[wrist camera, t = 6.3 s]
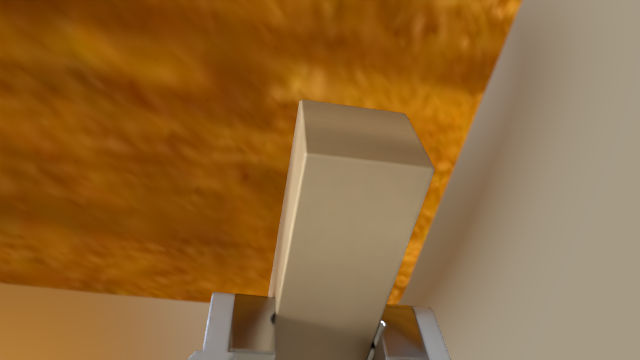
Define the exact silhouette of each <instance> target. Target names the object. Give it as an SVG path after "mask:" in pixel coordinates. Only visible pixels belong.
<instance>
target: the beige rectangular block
mask: <svg viewBox="0 0 640 360" xmlns="http://www.w3.org/2000/svg"><path fill="white" fill-rule="evenodd" d="M433 173H434V167H433V165H432V163H431V161H430V159H429V157H428V155H427V153H426V152H425V150H424V148H423V146H422V144H421V142H420V140H419V138H418V136H417V134H416V133H415V131H414V129H413V127H412V125H411V123H410V121H409V119H408V117H407V116H406V114H404V113H397V112H390V111H383V110H375V109H368V108H361V107H353V106H346V105H338V104H331V103H324V102H316V101H309V100H301V101H300V102H299V108H298V114H297V121H296V127H295V133H294V139H293V145H292V152H291V158H290V164H289V170H288V176H287V182H286V189H285V195H284V201H283V207H282V213H281V220H280V226H279V232H278V238H277V244H276V250H275V257H274V263H273V269H272V275H271V281H270V288H269V294H268V297H275V299H276V312H275V318H274V325H275V326H276V355H275V360H366V359H367V357H368V354H369V351H370V348H371V345H372V343H373V340H374V337H375V334H376V332H377V329H378V326H379V323H380V320H381V318H382V315H383V312H384V309H385V307H386V304H387V301H388V298H389V295H390V293H391V290H392V287H393V284H394V282H395V279H396V276H397V273H398V270H399V268H400V265H401V262H402V259H403V256H404V254H405V251H406V248H407V245H408V243H409V240H410V237H411V234H412V231H413V229H414V226H415V223H416V220H417V218H418V215H419V212H420V209H421V206H422V204H423V201H424V198H425V195H426V193H427V190H428V187H429V184H430V181H431V179H432V176H433Z"/></svg>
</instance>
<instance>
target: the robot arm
mask: <svg viewBox="0 0 640 360" xmlns="http://www.w3.org/2000/svg"><path fill="white" fill-rule="evenodd" d="M234 297H235V300H234ZM233 308H234V309H233ZM275 312H276V299H275V297H267V296H256V295H245V294H231V293H220V292H213V295H212V298H211V304H210V310H209V315H208V321H207V327H206V333H205V339H204V345H203V350H202V351H195V352H194V353H193V354H192V355H191V356H190V357H189V358H188V359H187V360H275V355H276V326H275V325H274V318H275ZM366 360H451V359H450V356H449V353H448V350H447V347H446V345H445V342H444V339H443V336H442V333H441V331H440V328H439V325H438V322H437V319H436V317H435V314H434V311H433V310H432V308H430V307H421V306H407V305H390V304H386V307H385V309H384V312H383V315H382V318H381V320H380V323H379V326H378V329H377V332H376V334H375V337H374V340H373V343H372V345H371V348H370V351H369V354H368V357H367V359H366Z"/></svg>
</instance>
